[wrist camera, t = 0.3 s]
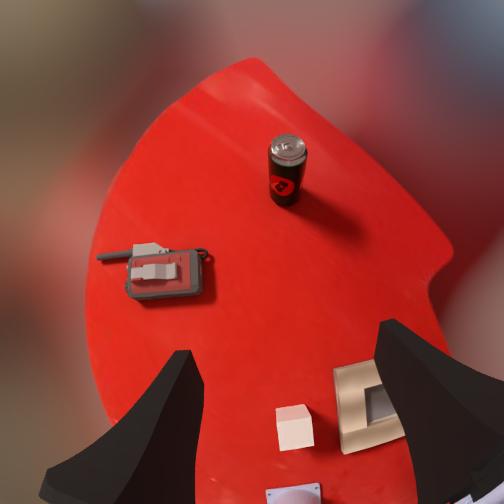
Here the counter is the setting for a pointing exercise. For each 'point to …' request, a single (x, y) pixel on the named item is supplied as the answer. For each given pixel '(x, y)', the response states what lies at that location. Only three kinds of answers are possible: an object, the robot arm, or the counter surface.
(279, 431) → the white rectangular block
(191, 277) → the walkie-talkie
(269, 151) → the soda can
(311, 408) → the counter surface
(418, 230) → the counter surface
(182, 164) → the counter surface
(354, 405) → the holder block
